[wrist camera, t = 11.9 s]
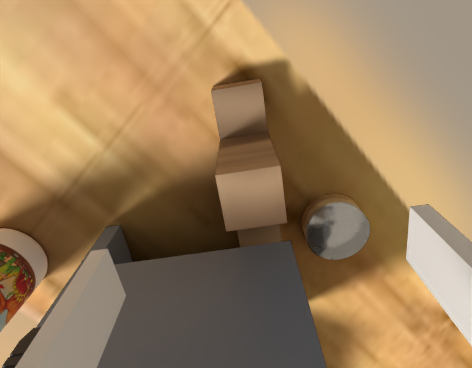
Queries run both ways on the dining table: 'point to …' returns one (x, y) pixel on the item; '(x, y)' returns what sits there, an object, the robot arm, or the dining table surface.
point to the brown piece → (247, 165)
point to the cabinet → (209, 309)
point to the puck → (335, 226)
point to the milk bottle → (18, 271)
